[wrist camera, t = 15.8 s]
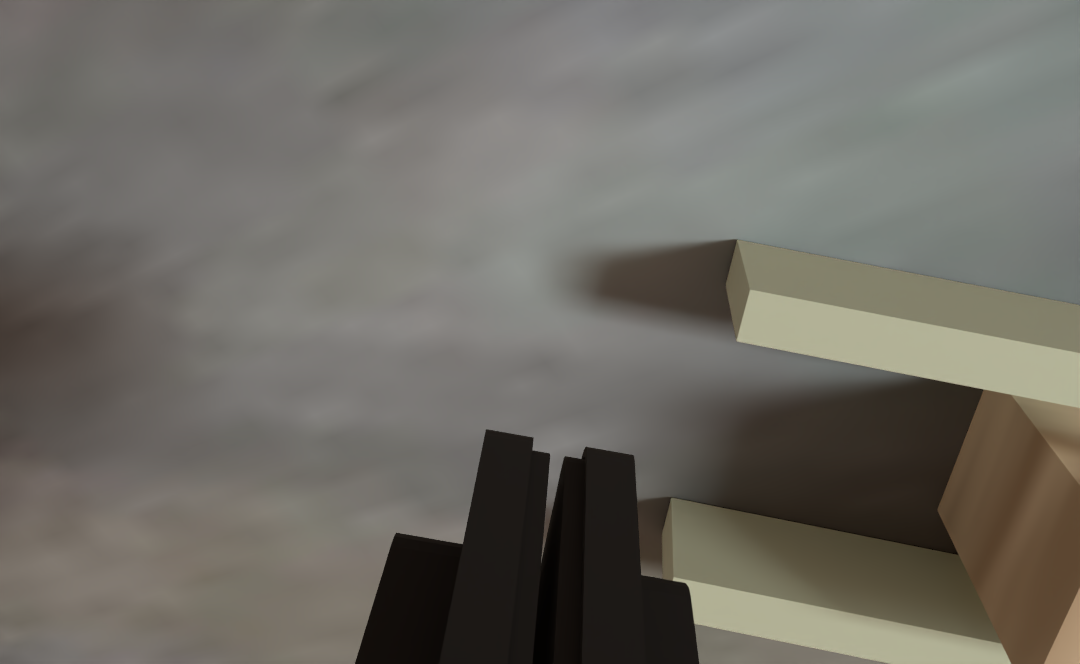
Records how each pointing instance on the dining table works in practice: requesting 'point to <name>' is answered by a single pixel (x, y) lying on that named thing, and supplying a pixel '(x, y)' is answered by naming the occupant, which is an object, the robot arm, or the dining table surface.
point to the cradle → (843, 558)
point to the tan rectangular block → (1021, 523)
